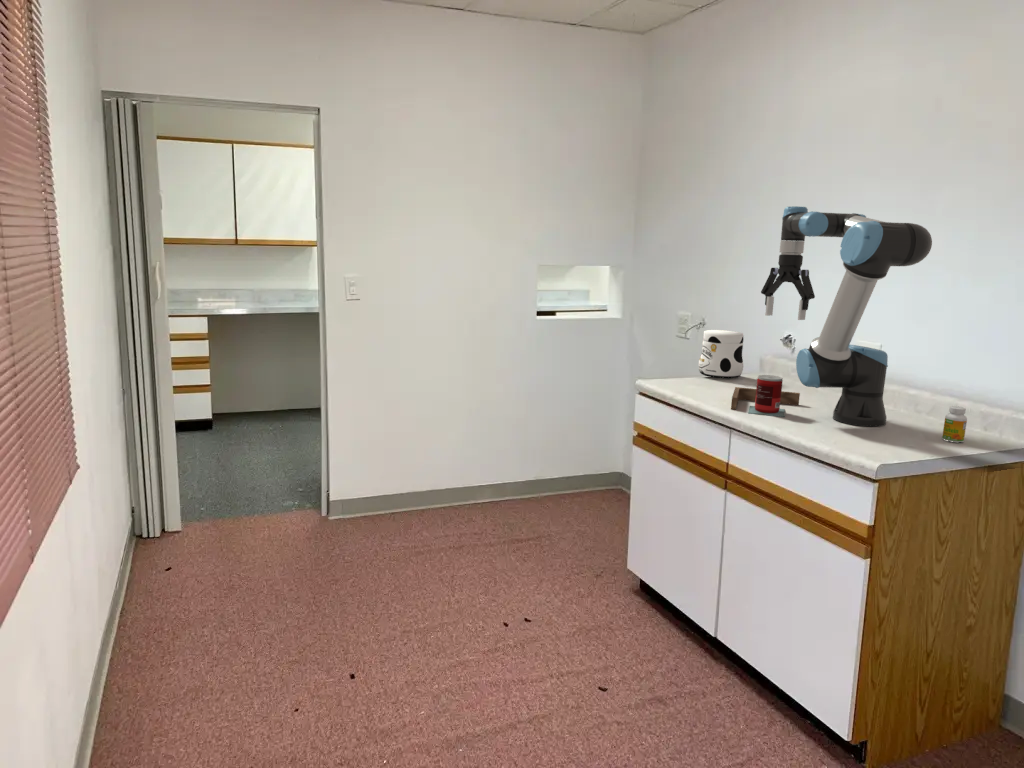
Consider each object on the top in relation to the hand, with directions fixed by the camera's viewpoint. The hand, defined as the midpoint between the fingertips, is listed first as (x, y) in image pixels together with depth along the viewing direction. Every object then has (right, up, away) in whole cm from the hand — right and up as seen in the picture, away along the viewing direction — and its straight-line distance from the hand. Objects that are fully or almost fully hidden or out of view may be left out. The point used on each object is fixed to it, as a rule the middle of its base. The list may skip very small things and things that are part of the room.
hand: (784, 317), depth 258 cm
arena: (-9, -30, -7) cm, 32 cm away
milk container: (-9, -20, +48) cm, 52 cm away
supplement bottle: (+33, -39, -42) cm, 66 cm away
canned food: (-10, -31, -13) cm, 35 cm away
